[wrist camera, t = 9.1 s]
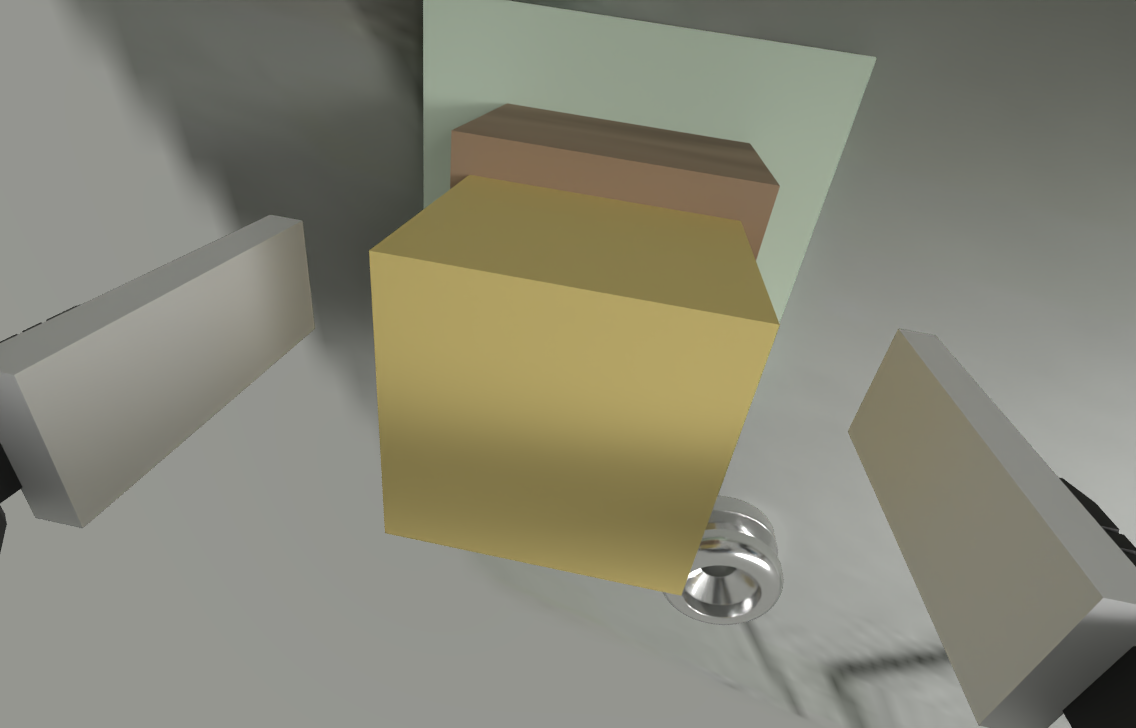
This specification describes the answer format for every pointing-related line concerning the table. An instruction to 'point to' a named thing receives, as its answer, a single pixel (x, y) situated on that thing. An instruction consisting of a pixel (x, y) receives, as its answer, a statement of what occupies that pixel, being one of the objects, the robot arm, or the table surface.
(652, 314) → the mustard cube
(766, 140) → the build plate
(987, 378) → the table surface
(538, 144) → the walnut base
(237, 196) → the table surface
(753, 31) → the table surface
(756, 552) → the metal grooved wheel
